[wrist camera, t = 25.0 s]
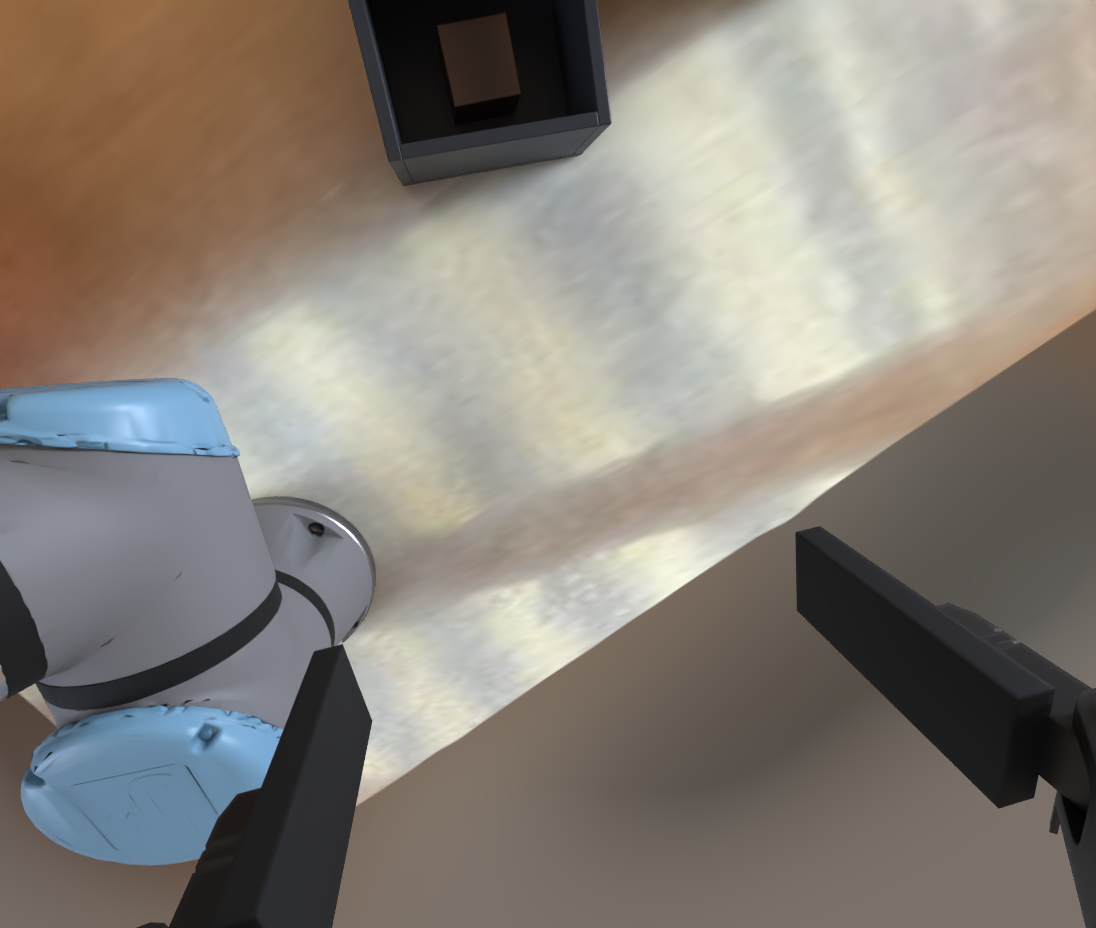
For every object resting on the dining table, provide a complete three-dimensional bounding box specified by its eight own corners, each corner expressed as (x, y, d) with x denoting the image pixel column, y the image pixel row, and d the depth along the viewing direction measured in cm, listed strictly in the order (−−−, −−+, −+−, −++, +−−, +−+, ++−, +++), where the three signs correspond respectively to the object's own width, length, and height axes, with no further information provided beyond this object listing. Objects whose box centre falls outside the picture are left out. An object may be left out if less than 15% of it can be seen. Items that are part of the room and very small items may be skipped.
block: (455, 125, 38) (454, 107, 34) (438, 52, 37) (435, 24, 33) (515, 113, 39) (521, 94, 34) (500, 40, 37) (506, 11, 33)
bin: (403, 186, 40) (388, 162, 31) (331, -104, 34) (291, -226, 26) (581, 154, 41) (612, 123, 33) (541, -131, 35) (567, -256, 27)
